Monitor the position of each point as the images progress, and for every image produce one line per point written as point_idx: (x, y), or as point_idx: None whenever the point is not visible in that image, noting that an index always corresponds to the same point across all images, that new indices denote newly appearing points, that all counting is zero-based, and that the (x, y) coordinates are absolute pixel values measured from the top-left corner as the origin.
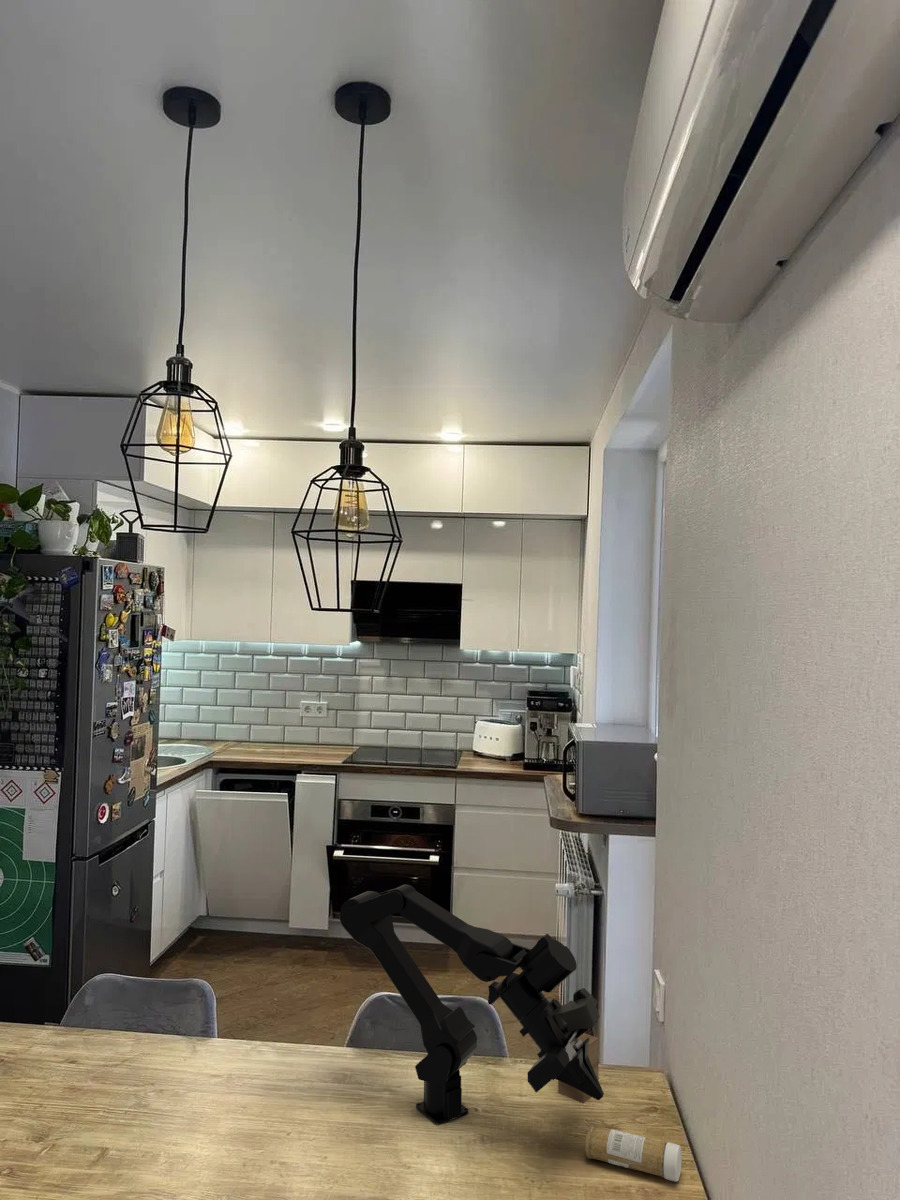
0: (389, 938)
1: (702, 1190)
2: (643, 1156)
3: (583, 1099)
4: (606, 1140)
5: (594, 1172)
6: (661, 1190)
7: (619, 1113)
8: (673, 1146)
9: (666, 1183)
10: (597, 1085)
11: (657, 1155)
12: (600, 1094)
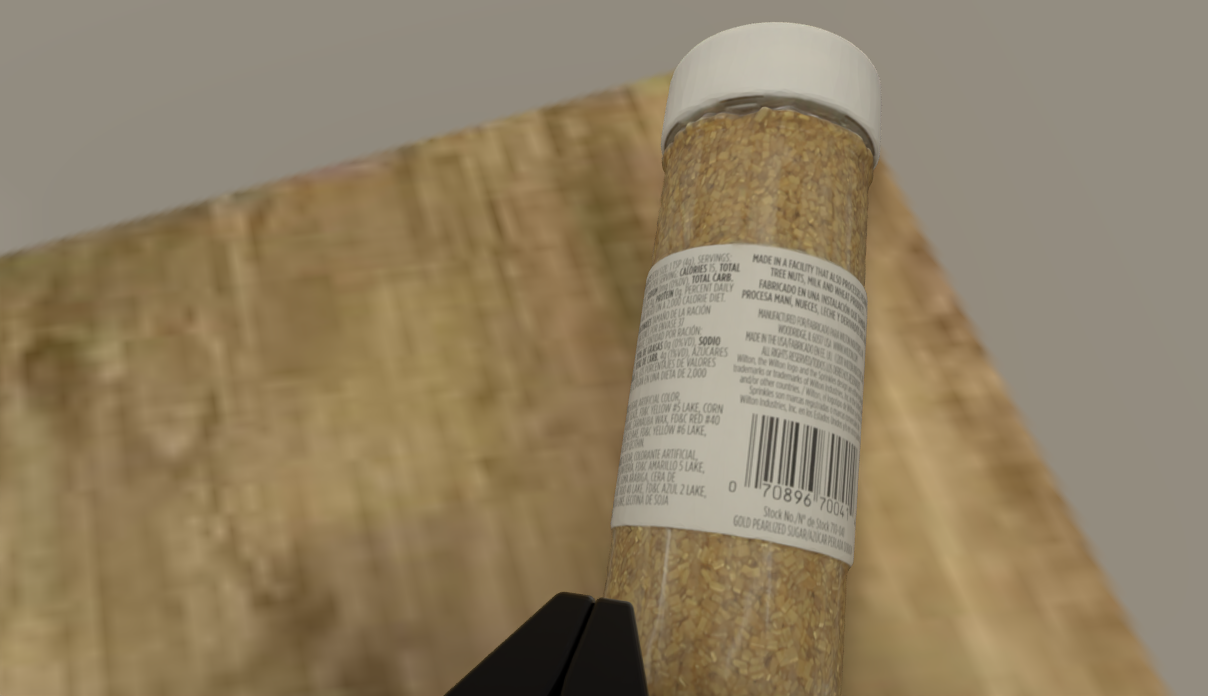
0: None
1: None
2: (860, 272)
3: None
4: (818, 565)
5: (907, 664)
6: (917, 222)
7: (118, 569)
8: (786, 45)
9: None
10: (578, 688)
11: (851, 169)
12: (637, 632)
